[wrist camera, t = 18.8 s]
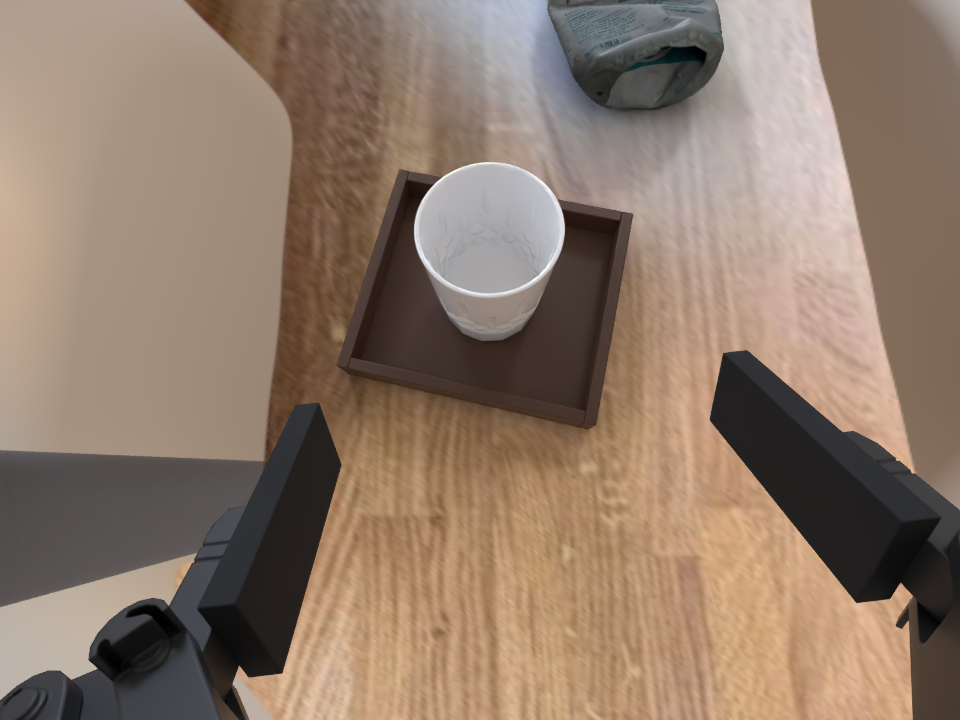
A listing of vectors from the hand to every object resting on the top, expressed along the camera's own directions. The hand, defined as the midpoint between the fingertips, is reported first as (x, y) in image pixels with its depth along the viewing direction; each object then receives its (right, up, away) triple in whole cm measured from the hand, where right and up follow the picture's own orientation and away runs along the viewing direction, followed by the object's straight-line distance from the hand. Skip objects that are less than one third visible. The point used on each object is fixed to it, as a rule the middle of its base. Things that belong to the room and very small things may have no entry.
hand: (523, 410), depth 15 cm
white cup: (-1, +6, +18) cm, 19 cm away
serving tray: (-1, +6, +19) cm, 20 cm away
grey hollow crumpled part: (+11, +33, +25) cm, 43 cm away
